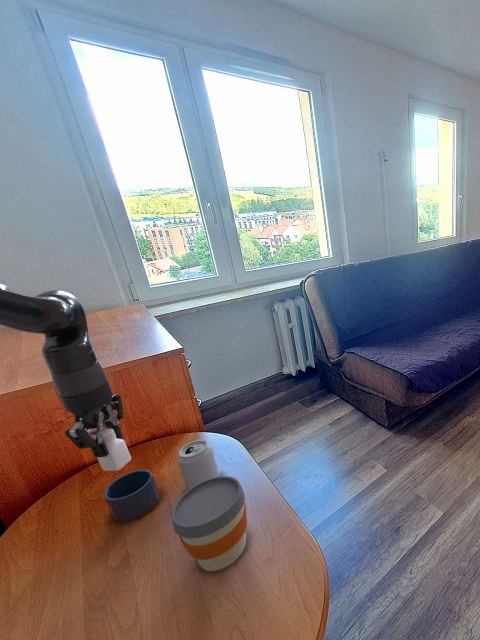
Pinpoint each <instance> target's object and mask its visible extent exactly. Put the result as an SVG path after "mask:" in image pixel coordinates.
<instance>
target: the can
mask: <svg viewBox="0 0 480 640" xmlns="http://www.w3.org/2000/svg"><path fill="white" fill-rule="evenodd" d="M176 459H177V462H178V465H179V468H180V471H181V474H182V477H183V480H184V483H185V487H186V489H187V490H189V489H190V488H192V487H193V486H195V485H196V484H198V483H200V482H202V481H204V480H207V479H210V478H213V477H218V476H220V471H219V468H218V463H217V461H216V457H215V452H214V450H213V447H212V445H211V443H208V441H207V440H205V439H197V440H193V441H190V442H188V443H187V444H185V445H184V446H182V447H181V448H180V449H179V451H178V455H177V458H176Z"/></svg>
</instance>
